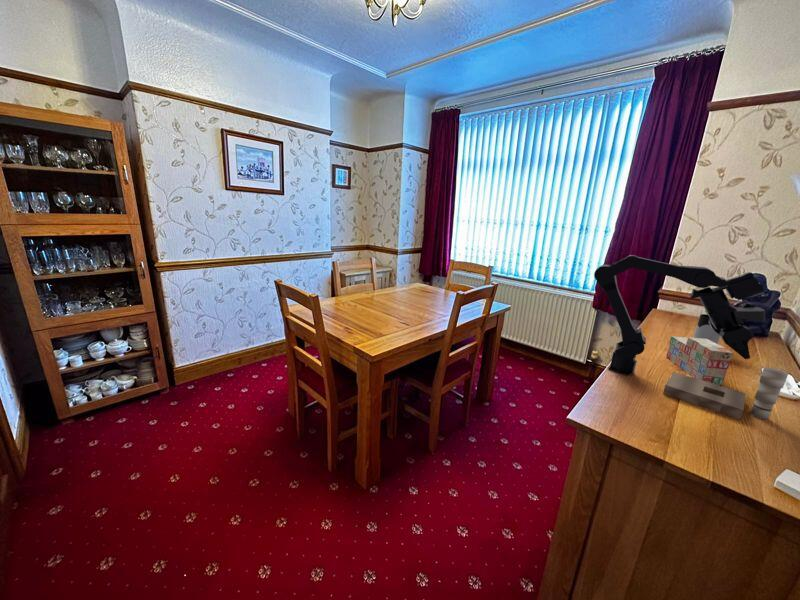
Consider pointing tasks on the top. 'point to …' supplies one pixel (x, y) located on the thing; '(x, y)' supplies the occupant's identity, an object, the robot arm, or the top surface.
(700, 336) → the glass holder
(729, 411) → the gray slotted board
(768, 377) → the ash peg
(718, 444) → the top surface
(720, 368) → the stack of blocks
